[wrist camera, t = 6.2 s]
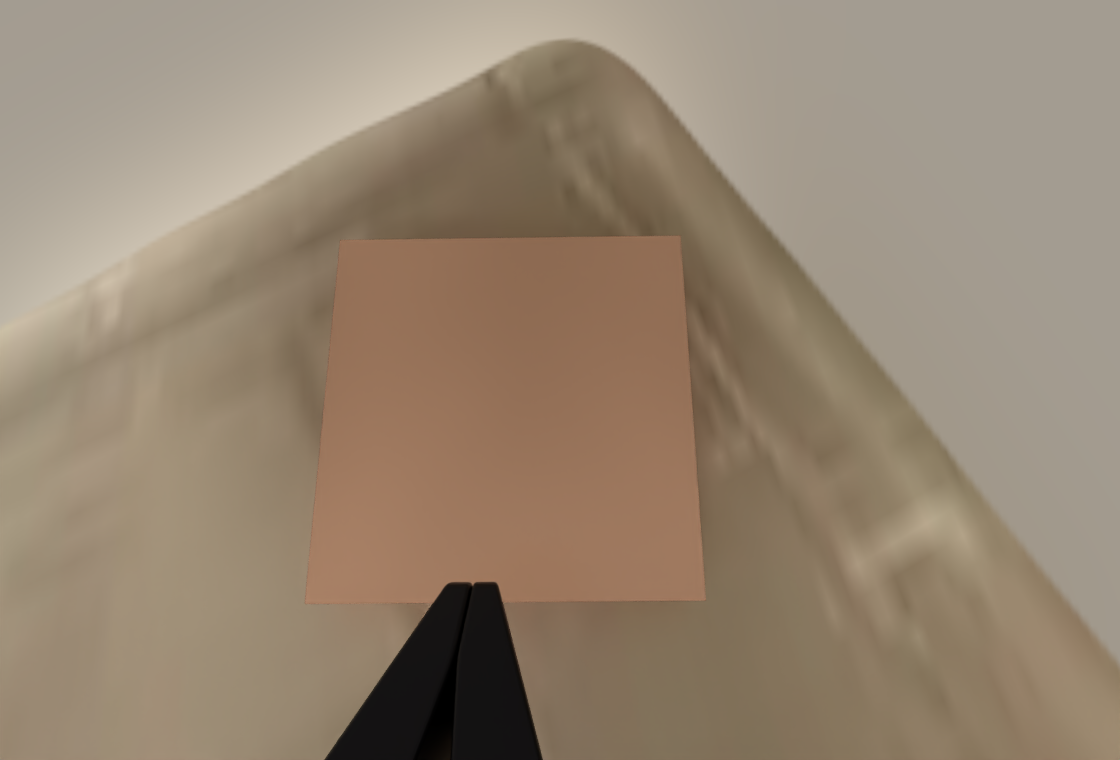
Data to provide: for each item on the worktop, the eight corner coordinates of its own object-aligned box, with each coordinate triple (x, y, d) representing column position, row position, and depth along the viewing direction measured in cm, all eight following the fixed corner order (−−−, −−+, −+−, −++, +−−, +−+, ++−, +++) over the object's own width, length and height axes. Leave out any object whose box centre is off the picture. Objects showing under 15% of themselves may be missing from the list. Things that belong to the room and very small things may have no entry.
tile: (705, 600, 13) (680, 235, 16) (304, 603, 13) (340, 240, 16) (685, 588, 16) (666, 269, 18) (341, 590, 16) (367, 273, 18)
